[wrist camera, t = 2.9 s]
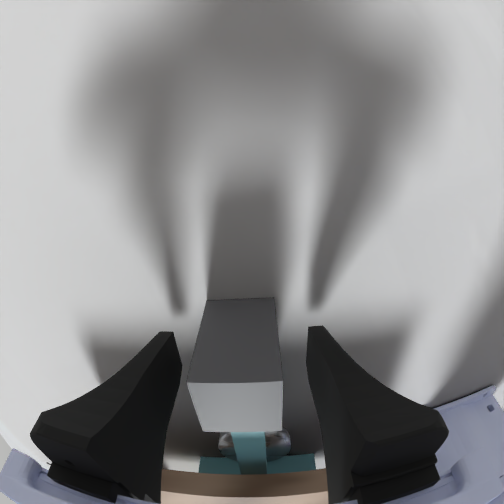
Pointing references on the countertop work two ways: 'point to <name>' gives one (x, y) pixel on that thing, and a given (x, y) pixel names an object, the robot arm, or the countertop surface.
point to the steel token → (275, 445)
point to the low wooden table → (244, 488)
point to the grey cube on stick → (241, 385)
